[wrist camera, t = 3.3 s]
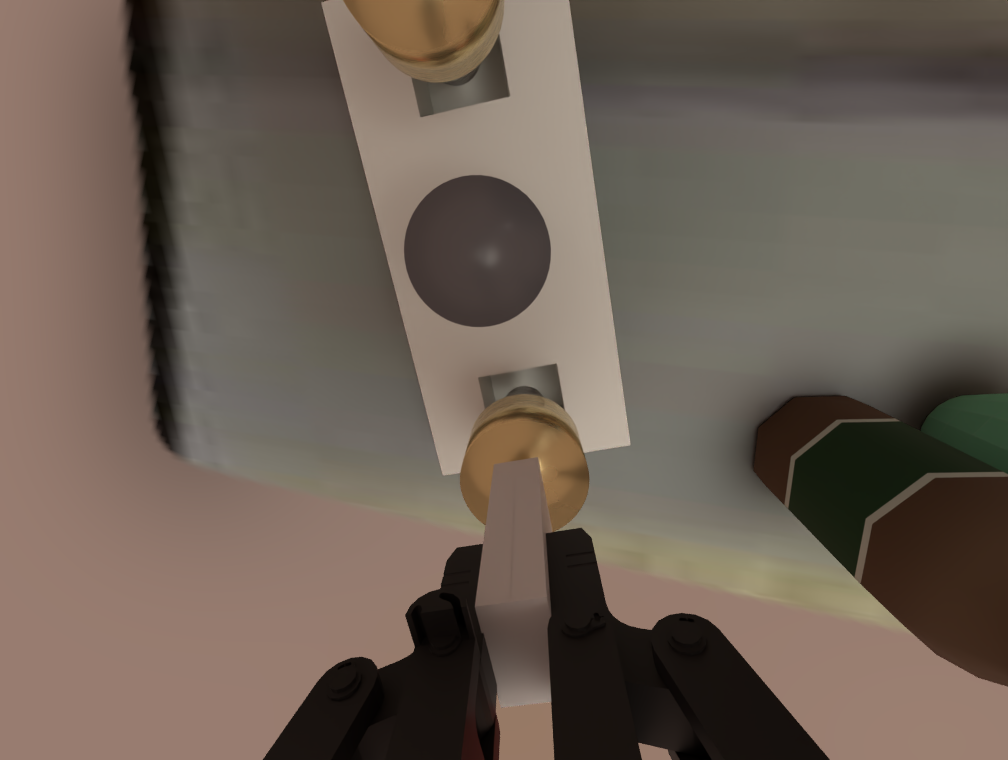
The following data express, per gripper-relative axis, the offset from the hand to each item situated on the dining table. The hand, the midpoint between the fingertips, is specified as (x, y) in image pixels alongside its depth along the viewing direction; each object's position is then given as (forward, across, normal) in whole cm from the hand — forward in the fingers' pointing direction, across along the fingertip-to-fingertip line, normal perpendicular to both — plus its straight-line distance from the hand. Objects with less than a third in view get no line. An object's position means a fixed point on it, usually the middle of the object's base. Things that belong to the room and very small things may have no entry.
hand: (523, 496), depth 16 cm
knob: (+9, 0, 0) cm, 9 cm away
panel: (+15, 0, +8) cm, 17 cm away
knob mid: (+9, 0, +8) cm, 12 cm away
